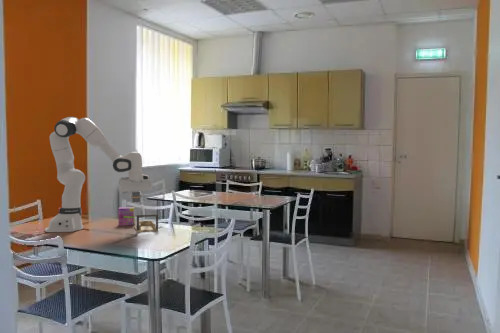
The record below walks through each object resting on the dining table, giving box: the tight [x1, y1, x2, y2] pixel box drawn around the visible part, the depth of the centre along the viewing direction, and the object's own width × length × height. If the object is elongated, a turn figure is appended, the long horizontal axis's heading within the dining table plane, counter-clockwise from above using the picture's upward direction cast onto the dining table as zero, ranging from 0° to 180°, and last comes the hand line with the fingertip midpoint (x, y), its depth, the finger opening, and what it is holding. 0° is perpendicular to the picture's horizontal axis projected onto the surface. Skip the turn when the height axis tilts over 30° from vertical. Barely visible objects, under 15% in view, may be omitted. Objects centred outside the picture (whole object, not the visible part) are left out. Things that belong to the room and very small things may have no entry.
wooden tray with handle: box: [133, 213, 159, 233], centre depth 283 cm, size 13×16×11 cm
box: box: [117, 206, 136, 226], centre depth 298 cm, size 10×6×12 cm, turn 97°
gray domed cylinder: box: [131, 191, 141, 203], centre depth 281 cm, size 5×5×6 cm
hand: (136, 198), depth 281 cm, fingers closed on gray domed cylinder, 5 cm apart
